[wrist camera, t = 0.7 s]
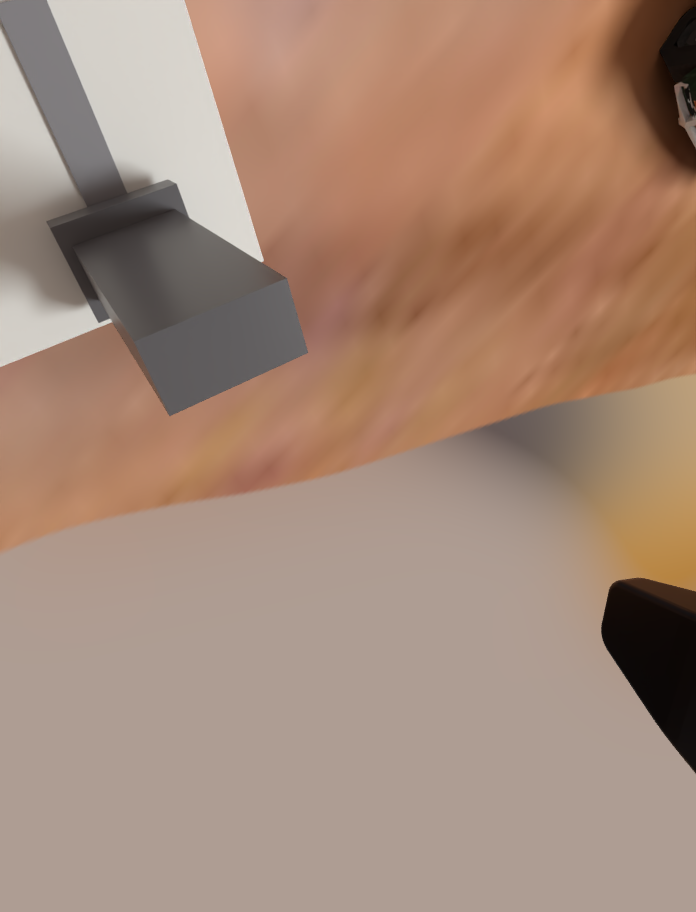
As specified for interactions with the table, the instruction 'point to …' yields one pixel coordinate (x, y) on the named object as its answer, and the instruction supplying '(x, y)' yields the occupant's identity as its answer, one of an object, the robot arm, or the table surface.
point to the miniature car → (683, 69)
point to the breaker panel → (98, 144)
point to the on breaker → (179, 294)
